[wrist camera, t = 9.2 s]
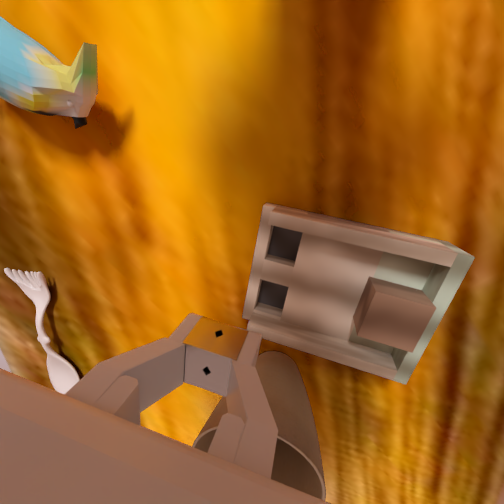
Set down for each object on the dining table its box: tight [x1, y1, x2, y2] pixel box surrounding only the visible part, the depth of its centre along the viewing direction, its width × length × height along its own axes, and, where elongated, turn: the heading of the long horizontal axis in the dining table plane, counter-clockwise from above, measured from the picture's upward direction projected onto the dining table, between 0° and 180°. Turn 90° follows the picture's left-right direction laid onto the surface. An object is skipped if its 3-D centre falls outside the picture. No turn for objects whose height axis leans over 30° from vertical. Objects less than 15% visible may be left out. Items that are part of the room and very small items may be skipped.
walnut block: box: [353, 276, 436, 353], centre depth 29 cm, size 6×6×4 cm
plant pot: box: [192, 351, 326, 501], centre depth 34 cm, size 15×15×16 cm
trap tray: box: [242, 203, 475, 384], centre depth 31 cm, size 17×22×6 cm
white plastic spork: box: [4, 268, 80, 394], centre depth 52 cm, size 9×32×4 cm, turn 0°
